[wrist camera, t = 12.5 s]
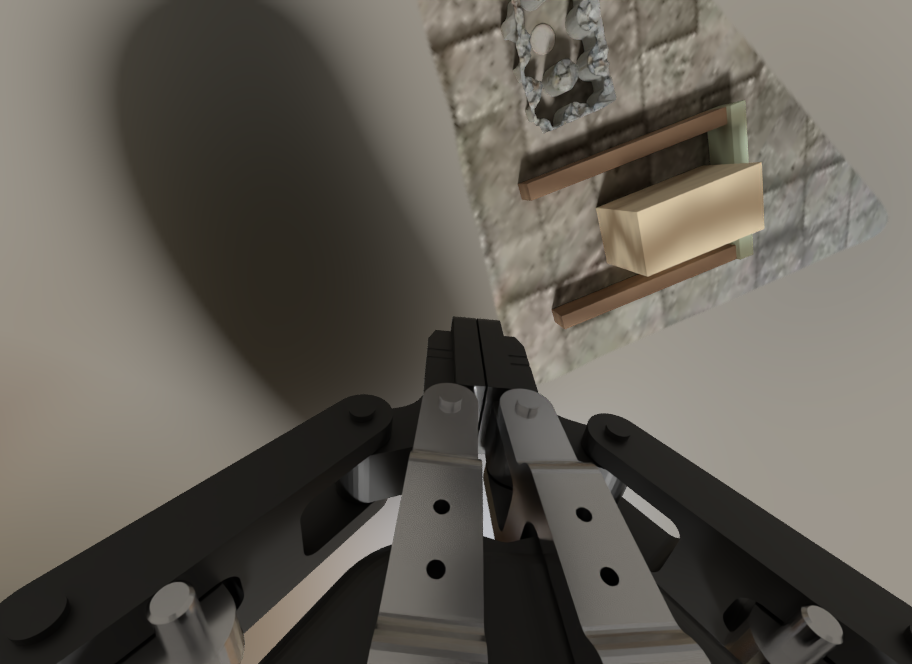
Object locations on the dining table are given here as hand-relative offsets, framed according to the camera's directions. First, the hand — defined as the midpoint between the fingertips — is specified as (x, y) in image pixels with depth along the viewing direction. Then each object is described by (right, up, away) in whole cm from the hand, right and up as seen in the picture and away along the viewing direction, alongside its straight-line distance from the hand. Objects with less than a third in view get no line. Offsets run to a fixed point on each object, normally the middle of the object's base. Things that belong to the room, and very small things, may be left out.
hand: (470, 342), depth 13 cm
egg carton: (+8, +24, +23) cm, 34 cm away
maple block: (+20, +13, +29) cm, 38 cm away
